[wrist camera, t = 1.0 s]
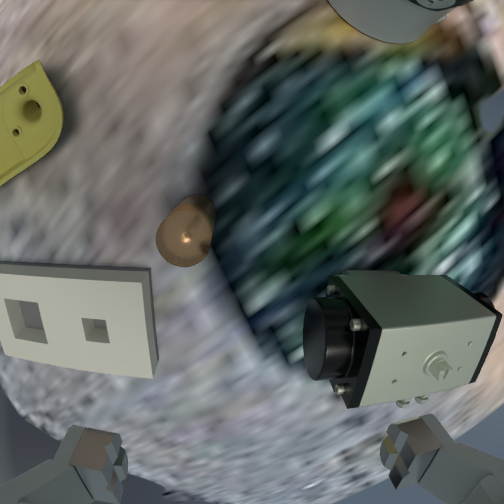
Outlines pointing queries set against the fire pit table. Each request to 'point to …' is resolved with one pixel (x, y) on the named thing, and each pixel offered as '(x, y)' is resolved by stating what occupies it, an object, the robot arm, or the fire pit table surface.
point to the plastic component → (27, 120)
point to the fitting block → (79, 317)
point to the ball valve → (396, 336)
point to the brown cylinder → (187, 231)
